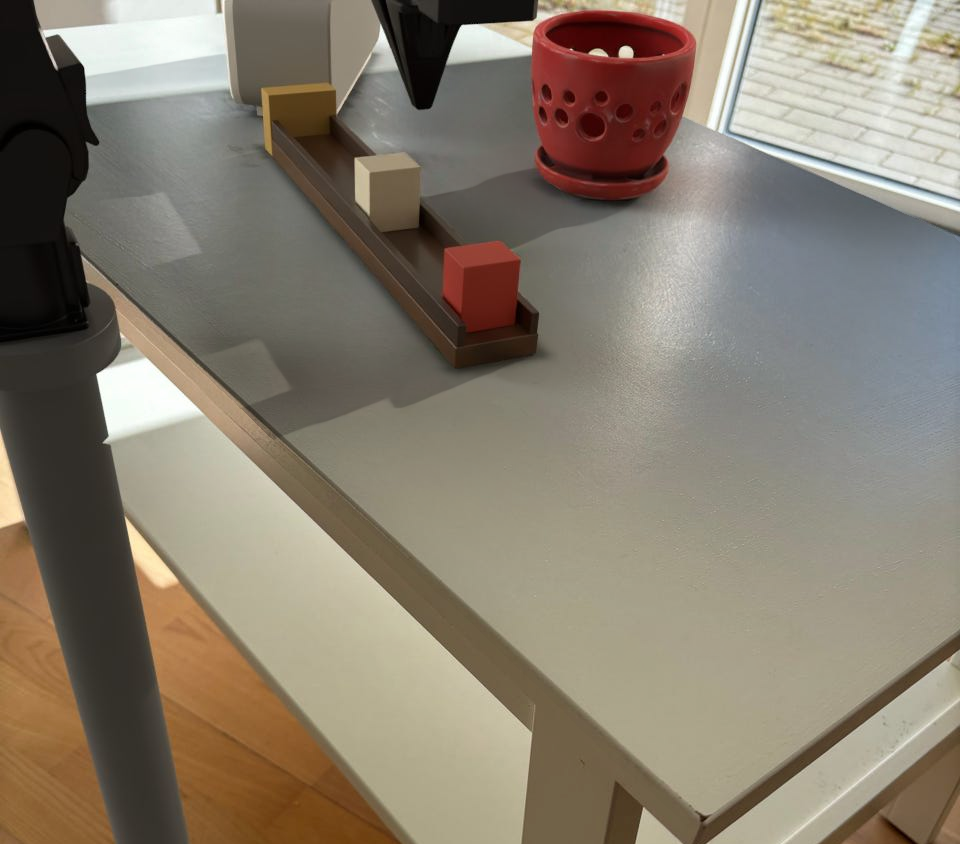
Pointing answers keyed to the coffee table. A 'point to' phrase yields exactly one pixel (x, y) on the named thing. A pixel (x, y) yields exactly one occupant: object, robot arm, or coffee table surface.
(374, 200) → the block
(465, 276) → the block
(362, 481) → the coffee table surface
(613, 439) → the coffee table surface
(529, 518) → the coffee table surface
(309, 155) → the rail
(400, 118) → the coffee table surface
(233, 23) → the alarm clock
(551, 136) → the flower pot
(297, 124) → the left stop
